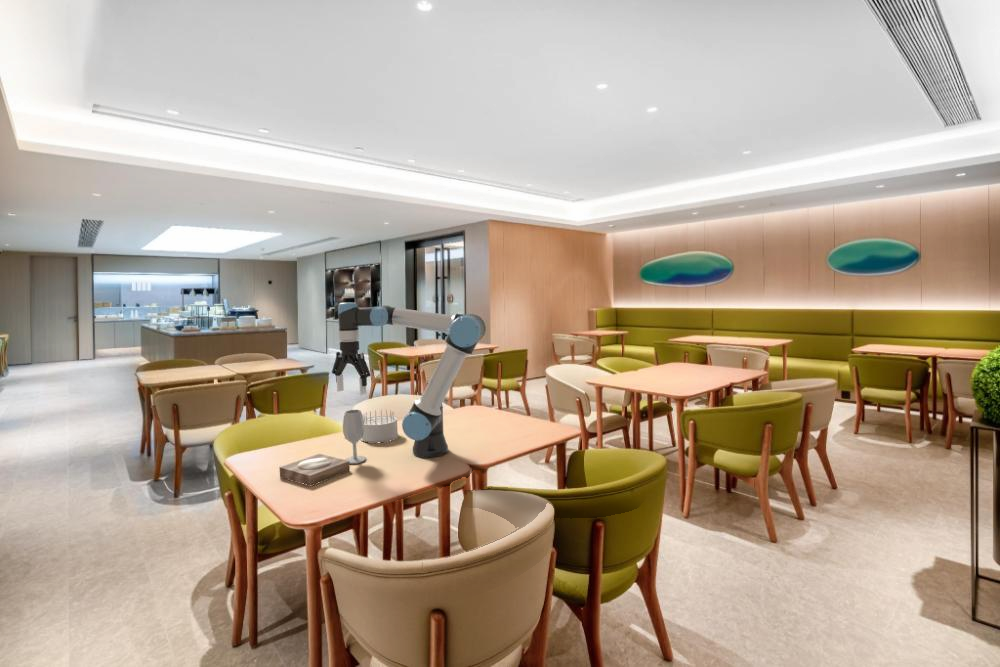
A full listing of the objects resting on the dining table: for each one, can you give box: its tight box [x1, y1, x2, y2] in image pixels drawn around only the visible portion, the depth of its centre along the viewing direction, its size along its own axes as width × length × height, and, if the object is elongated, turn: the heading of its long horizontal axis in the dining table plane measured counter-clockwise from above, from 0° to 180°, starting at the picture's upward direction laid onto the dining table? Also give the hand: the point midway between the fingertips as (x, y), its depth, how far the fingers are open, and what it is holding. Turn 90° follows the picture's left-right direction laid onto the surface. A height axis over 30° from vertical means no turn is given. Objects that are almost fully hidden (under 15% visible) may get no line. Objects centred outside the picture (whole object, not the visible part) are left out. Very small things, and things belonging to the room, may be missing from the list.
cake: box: [359, 409, 400, 444], centre depth 241 cm, size 18×18×13 cm
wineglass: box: [342, 409, 367, 465], centre depth 207 cm, size 9×9×21 cm
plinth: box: [279, 453, 351, 486], centre depth 194 cm, size 18×18×4 cm
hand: (351, 392), depth 206 cm, fingers open, 13 cm apart
